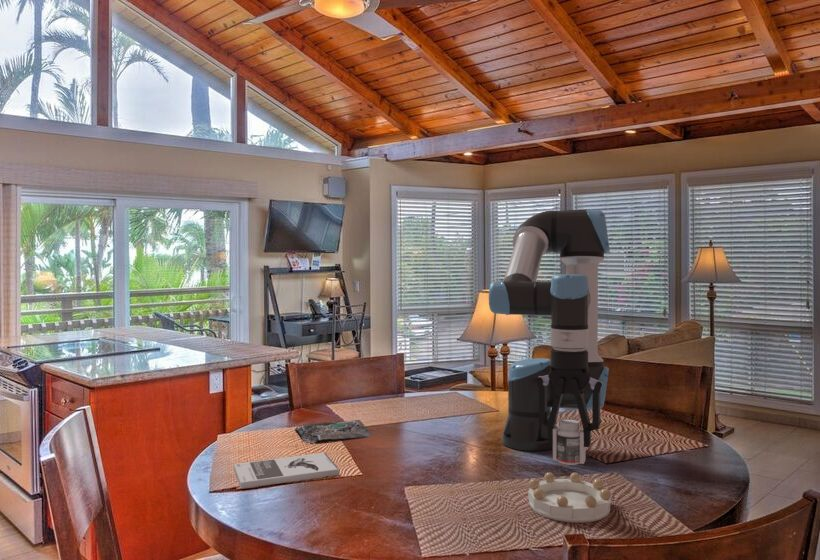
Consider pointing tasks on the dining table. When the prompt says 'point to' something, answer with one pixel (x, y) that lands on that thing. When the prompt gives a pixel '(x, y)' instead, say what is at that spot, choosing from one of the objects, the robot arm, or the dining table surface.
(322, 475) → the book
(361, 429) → the terrain model
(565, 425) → the pill bottle
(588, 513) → the tray
